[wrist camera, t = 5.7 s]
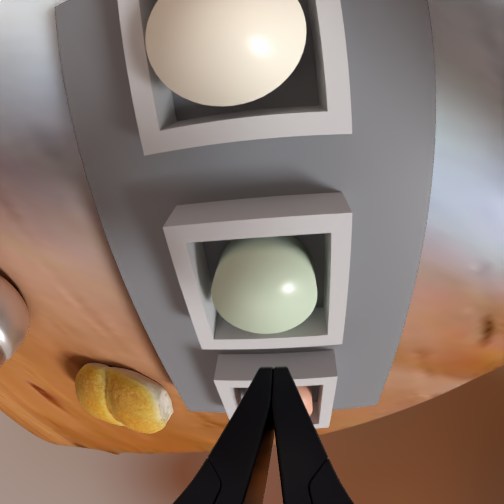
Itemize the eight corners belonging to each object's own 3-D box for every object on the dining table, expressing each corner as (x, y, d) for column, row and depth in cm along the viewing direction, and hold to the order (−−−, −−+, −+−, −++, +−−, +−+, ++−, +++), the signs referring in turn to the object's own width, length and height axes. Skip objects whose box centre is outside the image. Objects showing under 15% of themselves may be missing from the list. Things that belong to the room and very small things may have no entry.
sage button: (312, 225, 12) (317, 249, 10) (313, 303, 14) (316, 331, 12) (209, 232, 12) (201, 256, 11) (226, 308, 14) (221, 335, 13)
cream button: (291, -25, 6) (295, -44, 5) (307, 94, 8) (314, 98, 7) (159, -4, 7) (137, -15, 5) (177, 110, 9) (158, 118, 7)
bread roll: (69, 352, 23) (50, 386, 19) (160, 368, 22) (146, 411, 19) (102, 401, 27) (90, 432, 24) (181, 416, 26) (173, 452, 23)
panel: (399, -34, 7) (438, -59, 4) (372, 383, 21) (380, 425, 18) (80, 11, 9) (27, 4, 6) (193, 389, 23) (184, 430, 20)
